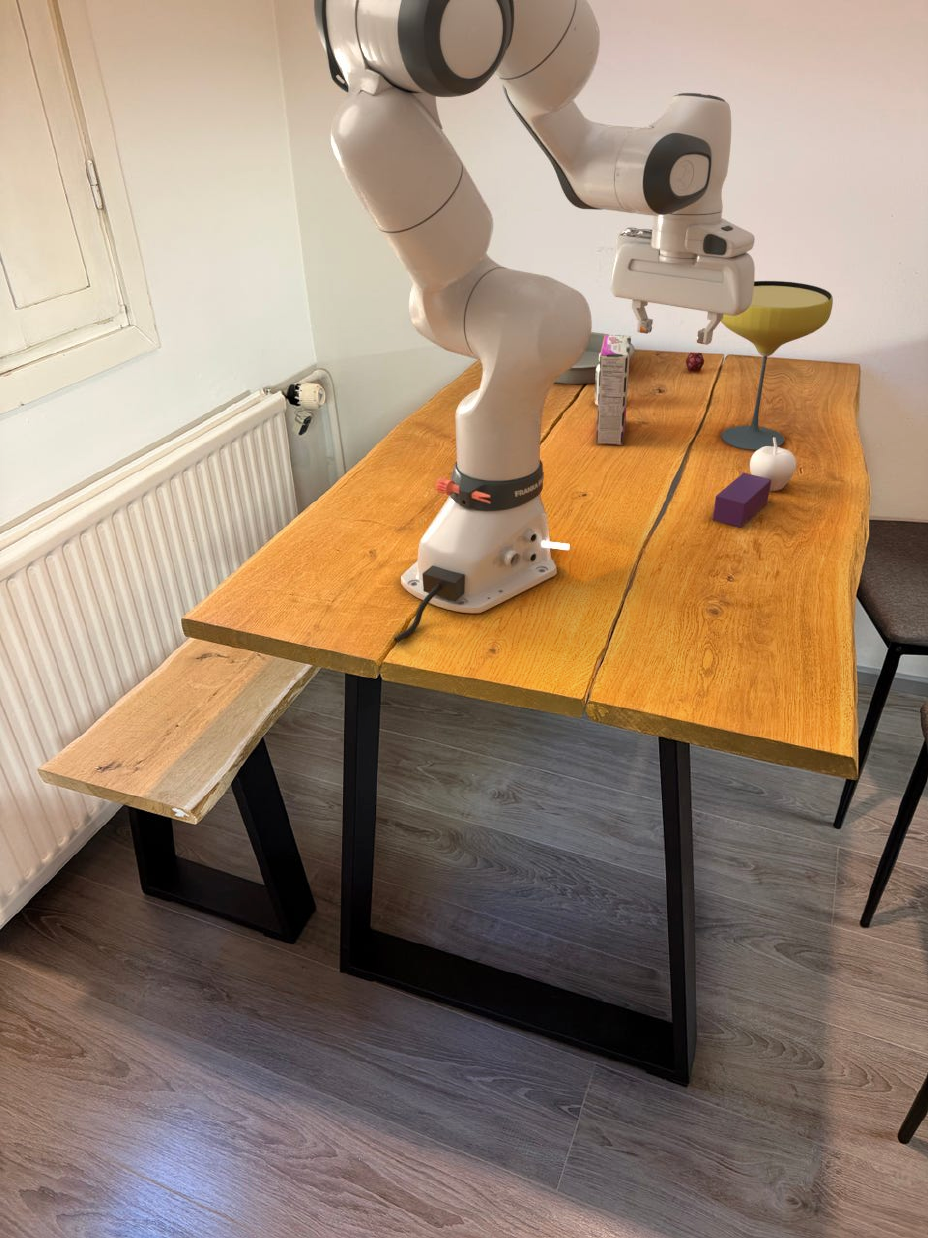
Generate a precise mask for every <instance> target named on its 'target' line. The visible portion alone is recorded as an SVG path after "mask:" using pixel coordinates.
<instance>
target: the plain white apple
mask: <svg viewBox="0 0 928 1238" xmlns="http://www.w3.org/2000/svg"><path fill="white" fill-rule="evenodd" d="M773 443H774V447H772V446H765V447H762V448H760V449H758V450H755V452H754V453H753V454H752V456H751V457H750V460H749V471H750V474H752V475H756V476H760V477H764V478H768V479H771V485H770V491H769V492H777V491H780V490H782V489H784V487H785V486H786V485H787V484H788V482H789V481H790V480H791V479H792V477H793V476H794V474H795V472H796V469H797V458H796V456H795V455H794V454H793V452H792V451H791V450H790V449H786V448H782V447H781V446H779V447H777V443H776V438H773Z"/></svg>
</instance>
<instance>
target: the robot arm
mask: <svg viewBox="0 0 928 1238" xmlns="http://www.w3.org/2000/svg"><path fill="white" fill-rule="evenodd" d="M313 10H314V20H315V25H316V29H317V33H318V36H319V39H320V42H321V44H322V47H323V49H324V51H325V54H326V61H327V68H328V73H329V75H330V77H331V79H332V81H333V82H334V83H335V85H337V87H338V88H340V89H341V90H343V91H344V92H346V93H347V94H346V96H345V97H344V99H343V100H342V101H341V102H340V104H339V106H338V108H337V109H336V111H335V114H334V115H333V118H332V120H331V121H332V122H331V127H330V143H331V147H332V151H333V154H334V156H335V158H336V160H337V162H338V165H339V167H340V169H341V171H342V173H343V175H344V177H345V180H346V182H347V183H348V185H349V187H350V189H351V190H352V192H353V194H354V196H355V198H356V199H357V201H358V203H359V204H360V206H361V208H362V209H363V210H364V213H365V214H366V215H367V217H368V218H369V220H370V221H371V223H372V224H373V225H374V227H375V228H376V230H377V231H378V232H379V234H380V236H381V237H382V238H383V239H384V241H385V242H386V244H387V246H389V248H390V249H391V251H392V252H393V253H394V255H395V257H396V258H397V259H398V261H399V262H400V263H401V265H402V267H403V268H404V269H405V271H406V273H407V274H408V277H409V279H410V281H411V283H412V287H411V289H410V293H409V298H408V311H409V317H410V321H411V323H412V326H413V328H414V329H415V330H416V331H417V333H418V334H419V335H421V336H422V337H423V338H425V339H427V340H429V342H432V343H433V344H435V345H436V346H438V347H440V348H442V350H445V351H448V352H451V353H454V354H458V355H461V356H464V357H467V358H471V359H475V360H478V361H480V362H481V366H482V375H481V380H480V385H479V388H477V389H475V390H474V391H472V392H470V393H469V394H467V395H466V396H465V397H464V398H462V400H461V401H460V402H459V404H458V406H457V408H456V410H455V415H454V418H455V419H454V420H455V421H454V422H455V446H456V447H455V449H456V461H455V463H454V466H453V470H452V473H451V480H449V479H448V478H445V477H442V476H441V477H439V478H438V479H437V481H436V484H435V490H436V492H437V493H441V494H445V495H447V496H448V497H447V499H446V501H445V502H444V504H443V505H442V507H441V508H440V509H439V511H438V513H437V514H436V516H435V517H434V518H433V520H432V522H431V523H430V524H429V526H428V528H427V529H426V530H425V532H424V534H423V535H422V537H421V538H420V540H419V543H418V548H417V560H416V561H415V562H414V563H413V564H412V565H411V566H410V567H409V568H407V570H405V572H403V574H402V575H401V576H400V584H401V586H402V587H403V588H404V590H405V591H407V592H408V593H409V594H410V595H412V596H414V597H416V598H417V599H419V600H421V603H420V604H419V606H418V608H417V610H416V614H415V616H414V619H413V622H412V623H411V625H410V626H409V627H408V628H407V629H405V630H404V631H402V632H401V633H400V634H398V635H396V636H395V637H394V642H396V643H398V644H399V643H400V642H401V641H402V640H404V639H405V638H407V637H409V636H410V635H411V634H412V633H414V632H415V630H416V629H417V628H418V626H420V623H421V621H422V616H423V613H424V611H425V609H426V607H428V604H430V605H433V606H435V607H437V608H441V609H444V610H448V611H452V612H457V613H464V614H481V613H484V612H486V611H488V610H491V609H492V608H494V607H496V606H498V605H500V604H502V603H504V602H506V601H508V600H510V599H512V598H513V597H515V596H517V595H520V594H521V593H524V592H526V591H528V590H529V589H531V588H534V587H535V586H537V585H539V584H541V583H543V582H545V581H547V580H549V579H551V578H553V577H555V576H556V575H557V574H558V571H557V565H556V563H555V562H554V560H553V559H552V556H551V549H556V550H563V551H569V550H570V543H564V542H563V543H562V542H554V541H550V529H549V519H548V518H549V517H548V513H547V512H546V509H545V507H544V503H543V500H542V495H541V493H542V492H543V489H544V479H545V474H544V473H545V472H544V465H543V464H544V463H543V461H542V459H541V438H542V437H541V436H542V424H543V423H542V421H543V413H544V408H545V403H546V400H547V397H548V395H549V393H550V391H551V389H552V387H553V385H554V384H555V381H556V380H557V378H558V377H559V376H561V375H562V374H563V373H565V372H566V371H568V370H569V369H571V368H572V367H573V366H574V365H575V364H576V363H577V362H578V361H579V360H580V358H581V357H582V355H583V354H584V352H585V350H586V348H587V346H588V343H589V340H590V336H591V332H593V331H592V330H593V329H592V328H593V320H592V312H591V308H590V304H589V303H588V300H587V299H586V297H585V296H584V295H583V293H582V292H580V291H579V290H577V289H576V288H573V287H571V286H569V285H568V284H566V283H563V282H562V281H559V280H557V279H555V278H553V277H551V276H548V275H544V274H538V273H534V272H527V271H523V270H517V269H512V268H508V267H505V266H502V265H500V264H499V263H497V262H496V261H495V260H493V259H492V258H491V257H490V256H489V255H488V253H487V252H488V250H489V249H490V248H489V247H490V245H491V241H492V237H493V232H494V218H493V214H492V212H491V210H490V208H489V206H488V203H486V201H485V199H484V197H483V196H482V194H481V192H480V191H479V189H478V186H477V185H476V184H475V183H476V182H474V180H473V178H472V176H471V175H470V173H469V171H468V169H467V168H466V166H465V164H464V162H463V160H462V159H461V157H460V155H459V154H458V152H457V151H456V149H455V147H454V145H453V144H452V143H451V141H450V140H449V138H448V137H447V135H446V133H445V132H444V130H443V125H442V124H441V120H440V116H439V111H438V106H437V97H438V98H454V97H455V98H456V97H462V96H466V95H470V94H471V93H473V92H476V91H477V90H479V89H480V88H482V87H483V86H484V85H486V84H487V82H488V81H490V79H491V78H492V77H493V75H494V76H495V78H496V79H497V80H498V81H499V82H500V83H501V85H502V89H503V93H504V95H505V97H506V100H507V102H508V104H509V106H510V107H511V109H512V110H513V112H514V113H515V115H516V117H517V118H518V120H519V121H520V122H521V124H522V125H523V126H524V128H525V129H526V130H527V132H528V133H529V135H530V136H531V137H532V138H533V140H534V141H535V143H536V144H537V145H538V146H539V148H540V149H541V150H542V152H543V154H545V156H546V157H547V159H548V160H549V162H550V164H551V165H552V167H553V169H554V172H555V174H556V177H557V179H558V182H559V185H560V188H561V191H562V192H563V194H564V197H566V198H567V200H568V202H569V203H570V204H571V205H572V206H574V207H575V208H577V209H581V210H599V211H600V210H601V211H603V210H606V211H613V212H619V213H627V214H636V215H645V216H653V220H652V229H648V228H637V227H632V226H631V227H627V228H626V229H625V230H622V231H621V232H620V233H619V234H618V236H617V237H616V241H615V259H614V263H613V268H612V272H611V279H610V291H611V293H612V295H613V297H616V298H621V299H628V300H632V302H631V308H632V311H633V313H634V316H635V319H636V321H637V328H636V332H637V333H640V334H647V335H648V334H649V333H651V332H652V330H653V326H652V325H653V323H654V322H653V321H654V319H652V318H649V317H648V313H647V310H646V308H645V307H646V306H648V305H649V303H652V304H658V305H663V306H670V307H676V308H683V309H689V310H695V311H701V312H706V313H707V316H706V319H707V320H708V321H709V322H708V323H707V325H706V326H705V327H703V328H701V329H699V330H698V331H697V338H696V343H697V344H700V345H706V346H707V345H709V344H711V343H712V341H713V335H714V330H715V329H716V328H717V327H718V326H719V324H720V323H721V320H722V319H723V314H726V315H732V316H736V315H739V314H741V313H743V312H745V311H746V310H747V309H748V308H749V307H750V305H751V303H752V298H753V290H754V281H755V273H756V271H755V269H756V268H755V267H756V266H755V262H754V259H753V257H752V256H751V254H750V253H748V252H749V251H751V250H752V249H753V248H754V245H755V241H756V239H755V237H756V236H755V235H754V234H753V233H752V232H750V231H748V230H746V229H744V228H742V227H740V226H738V225H736V224H734V223H732V222H730V221H728V220H726V219H724V218H723V208H724V206H723V197H722V196H723V195H722V194H723V188H724V187H723V186H724V184H725V181H726V178H727V177H728V171H729V164H730V155H731V142H732V113H731V106H730V104H729V103H728V101H726V100H725V99H724V98H722V97H720V96H716V95H712V94H702V93H697V92H682V93H681V92H680V93H677V94H675V95H673V96H672V97H671V98H670V100H669V103H668V106H667V110H666V111H665V113H664V114H663V115H661V117H659V118H658V119H657V120H656V121H654V122H653V123H651V124H648V127H646V126H645V127H641V126H640V127H638V126H623V125H610V124H604V123H599V122H595V121H592V120H590V119H588V118H586V117H585V116H584V114H583V112H581V109H580V108H579V106H578V105H577V103H576V102H575V99H576V98H577V97H578V96H579V95H580V93H581V92H582V91H583V90H584V88H585V87H586V86H587V83H588V82H589V81H590V79H591V77H592V74H593V72H594V71H595V67H596V65H597V63H598V57H599V53H600V44H601V30H600V27H599V24H598V20H597V18H596V15H595V13H594V11H593V9H592V7H591V6H590V3H589V2H588V1H587V0H313ZM337 76H339V77H340V78H341V80H342V81H343V82H342V81H341V80H340V79H338V77H337Z"/></svg>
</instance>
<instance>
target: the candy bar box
mask: <svg viewBox="0 0 928 1238" xmlns="http://www.w3.org/2000/svg"><path fill="white" fill-rule="evenodd" d="M631 342H632V335H625V334H624V335H623V334H622V335H621V334H614V335H613V334H609V335H605V336H604V341H603V346H602V350H601V354H600V372H599V396H598V406H597V420H596V421H597V422H596V440H595V441H596V442H595V443H596V444H597V445H602V446H603V445H604V446H623V443H624V437H625V429H626V423H627V420H626V419H627V408H628V407H627V405H628V387H629V374H630V373H629V372H630V358H631V357H630V346H631V344H632V343H631Z"/></svg>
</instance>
